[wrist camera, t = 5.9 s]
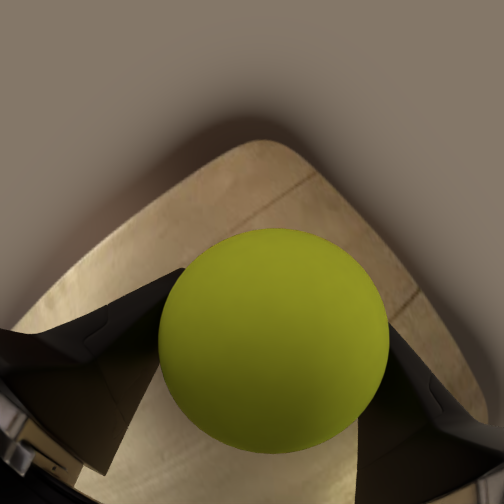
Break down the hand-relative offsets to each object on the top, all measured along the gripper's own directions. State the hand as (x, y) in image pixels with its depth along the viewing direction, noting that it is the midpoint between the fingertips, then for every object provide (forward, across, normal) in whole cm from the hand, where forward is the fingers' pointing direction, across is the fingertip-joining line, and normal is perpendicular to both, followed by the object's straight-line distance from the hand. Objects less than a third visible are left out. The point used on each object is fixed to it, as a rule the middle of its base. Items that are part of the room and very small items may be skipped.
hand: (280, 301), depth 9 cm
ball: (-2, 0, 0) cm, 2 cm away
